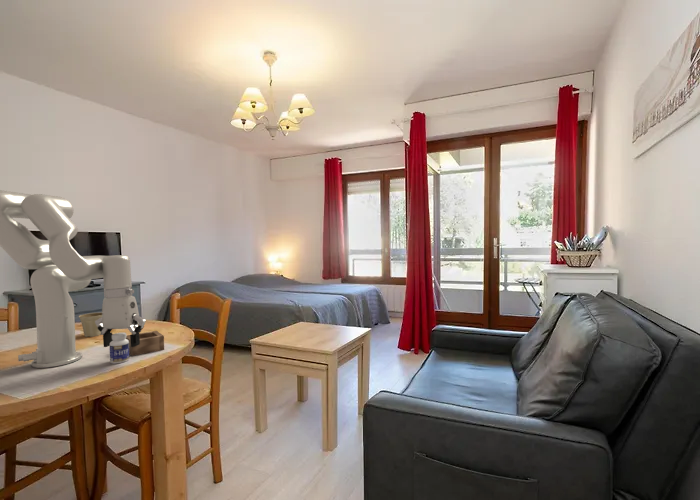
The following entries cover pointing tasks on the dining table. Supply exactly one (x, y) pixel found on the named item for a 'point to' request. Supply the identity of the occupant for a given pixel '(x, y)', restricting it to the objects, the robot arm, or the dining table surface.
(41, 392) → the dining table surface
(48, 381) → the dining table surface
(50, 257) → the robot arm
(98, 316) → the flower pot
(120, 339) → the pill bottle
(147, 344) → the well
